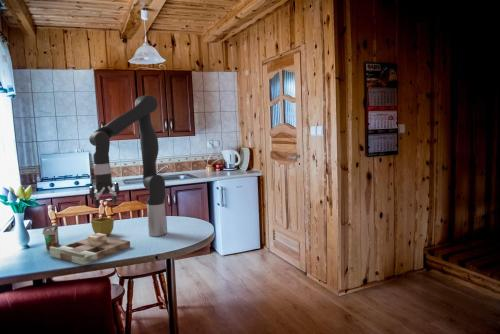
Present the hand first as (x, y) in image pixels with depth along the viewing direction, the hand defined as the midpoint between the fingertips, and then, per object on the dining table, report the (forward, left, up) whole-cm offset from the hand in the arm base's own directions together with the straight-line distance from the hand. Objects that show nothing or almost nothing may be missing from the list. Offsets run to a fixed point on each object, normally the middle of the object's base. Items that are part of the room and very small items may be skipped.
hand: (106, 205), depth 181 cm
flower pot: (-12, -20, -21) cm, 32 cm away
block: (+5, -2, -18) cm, 19 cm away
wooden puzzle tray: (+9, -2, -21) cm, 23 cm away
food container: (+14, -27, -21) cm, 37 cm away
